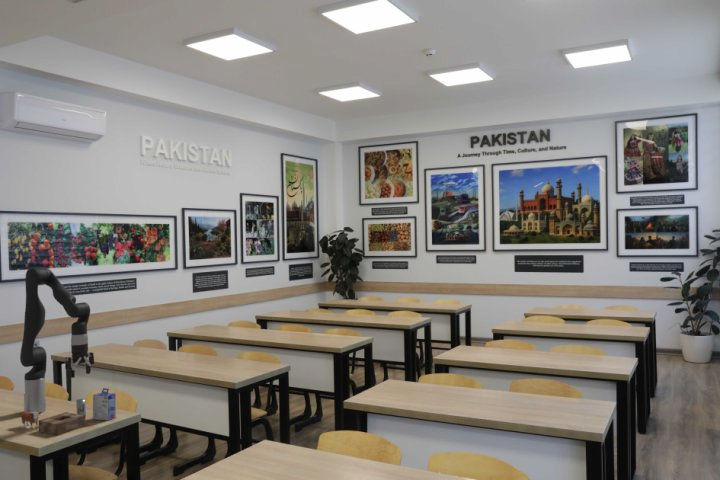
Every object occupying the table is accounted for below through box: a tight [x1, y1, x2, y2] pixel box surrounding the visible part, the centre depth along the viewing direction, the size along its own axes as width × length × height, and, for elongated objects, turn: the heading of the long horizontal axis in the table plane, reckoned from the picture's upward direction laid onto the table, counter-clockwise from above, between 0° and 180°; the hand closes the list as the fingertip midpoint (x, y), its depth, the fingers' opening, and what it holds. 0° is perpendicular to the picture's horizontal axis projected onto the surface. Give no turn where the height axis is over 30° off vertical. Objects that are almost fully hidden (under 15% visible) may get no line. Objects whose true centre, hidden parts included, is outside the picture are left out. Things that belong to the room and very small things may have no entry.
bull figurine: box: [20, 410, 42, 429], centre depth 271 cm, size 4×13×8 cm, turn 58°
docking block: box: [38, 411, 87, 436], centre depth 268 cm, size 14×14×5 cm
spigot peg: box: [76, 398, 87, 418], centre depth 284 cm, size 4×4×9 cm
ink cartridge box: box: [92, 387, 117, 422], centre depth 282 cm, size 10×6×14 cm, turn 72°
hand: (80, 375), depth 284 cm, fingers open, 8 cm apart
